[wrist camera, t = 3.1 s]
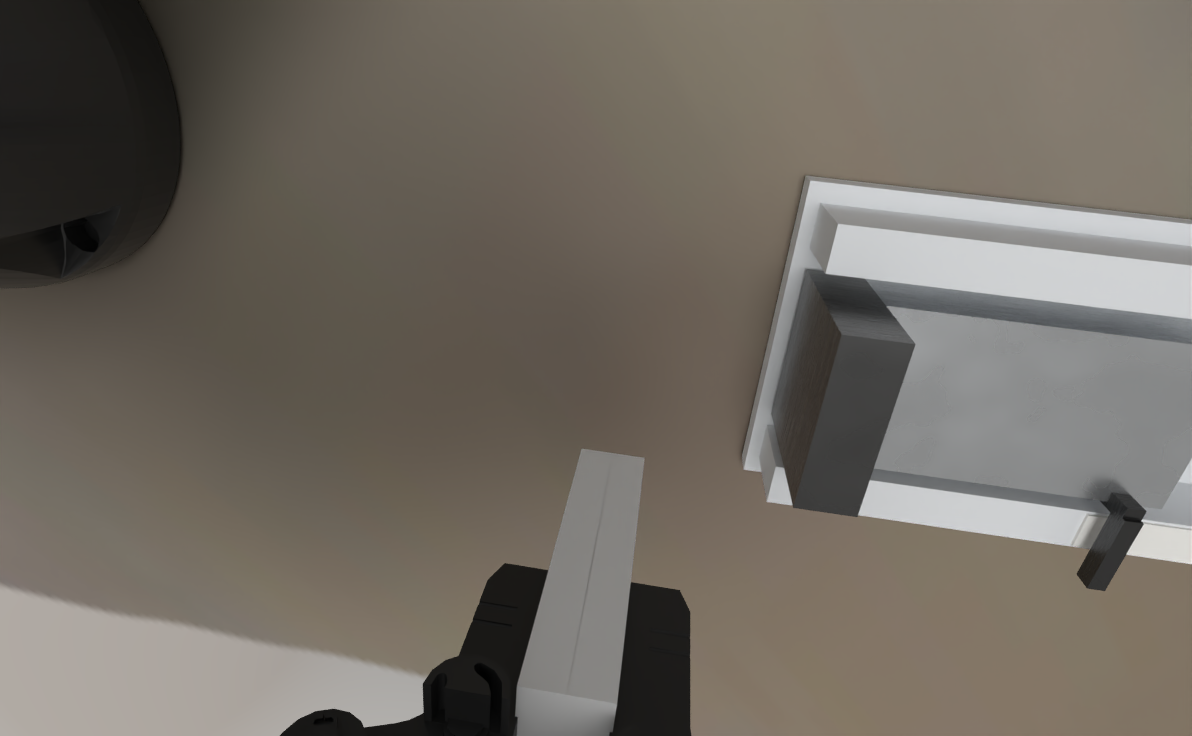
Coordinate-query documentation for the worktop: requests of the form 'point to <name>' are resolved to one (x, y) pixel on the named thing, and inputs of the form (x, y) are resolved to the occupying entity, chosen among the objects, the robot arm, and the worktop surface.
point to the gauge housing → (992, 266)
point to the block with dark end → (984, 399)
